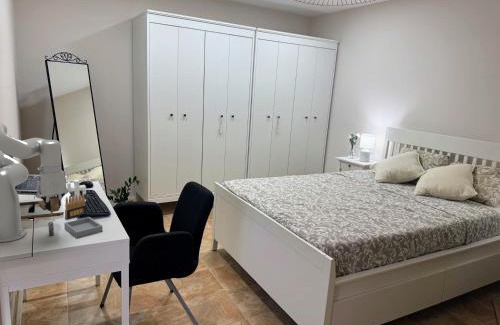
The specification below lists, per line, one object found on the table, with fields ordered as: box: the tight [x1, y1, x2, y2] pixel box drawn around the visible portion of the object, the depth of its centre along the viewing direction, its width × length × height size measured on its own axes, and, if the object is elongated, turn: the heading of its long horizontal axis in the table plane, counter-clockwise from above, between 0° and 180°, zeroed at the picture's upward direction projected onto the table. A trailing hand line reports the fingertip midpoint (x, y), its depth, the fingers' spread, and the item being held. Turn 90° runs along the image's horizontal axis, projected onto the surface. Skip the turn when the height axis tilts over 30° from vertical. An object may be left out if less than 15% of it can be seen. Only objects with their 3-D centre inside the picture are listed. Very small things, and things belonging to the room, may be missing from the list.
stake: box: [47, 221, 55, 237], centre depth 160 cm, size 2×2×6 cm
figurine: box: [66, 179, 87, 203], centre depth 196 cm, size 7×9×15 cm
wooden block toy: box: [38, 195, 60, 213], centre depth 156 cm, size 6×10×6 cm, turn 48°
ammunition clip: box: [64, 193, 87, 221], centre depth 182 cm, size 11×2×12 cm, turn 147°
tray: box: [63, 216, 104, 239], centre depth 168 cm, size 12×14×3 cm
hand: (53, 208), depth 154 cm, fingers closed on wooden block toy, 3 cm apart
